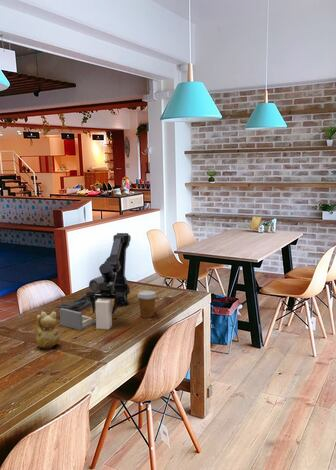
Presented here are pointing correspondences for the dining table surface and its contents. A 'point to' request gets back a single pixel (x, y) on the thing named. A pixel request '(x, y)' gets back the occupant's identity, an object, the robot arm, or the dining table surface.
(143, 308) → the disposable coffee cup
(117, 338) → the dining table surface
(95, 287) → the bluetooth speaker
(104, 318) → the white cabinet
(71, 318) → the board
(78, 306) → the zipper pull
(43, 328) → the decorative figurine
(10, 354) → the dining table surface
